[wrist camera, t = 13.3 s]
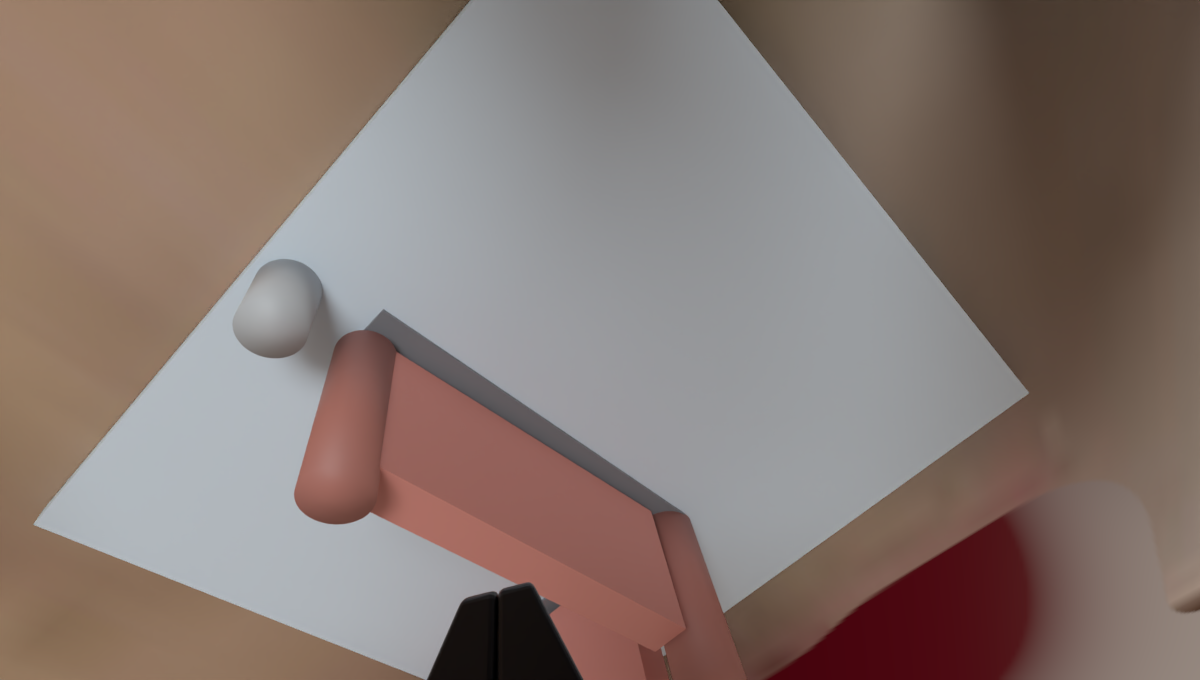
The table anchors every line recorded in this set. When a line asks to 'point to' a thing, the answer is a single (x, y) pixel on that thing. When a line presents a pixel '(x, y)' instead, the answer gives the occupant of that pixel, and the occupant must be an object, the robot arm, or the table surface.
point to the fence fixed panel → (696, 656)
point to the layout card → (556, 324)
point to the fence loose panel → (480, 491)
